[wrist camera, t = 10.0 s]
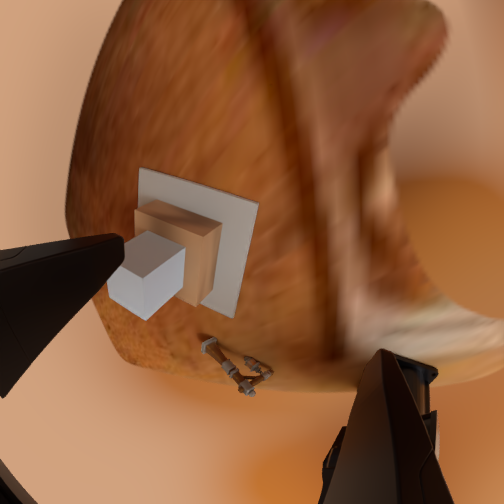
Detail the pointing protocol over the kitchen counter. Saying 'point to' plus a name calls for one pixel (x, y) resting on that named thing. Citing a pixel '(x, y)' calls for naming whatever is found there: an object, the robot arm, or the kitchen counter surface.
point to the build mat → (217, 208)
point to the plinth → (185, 244)
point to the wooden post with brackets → (234, 373)
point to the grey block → (148, 274)
